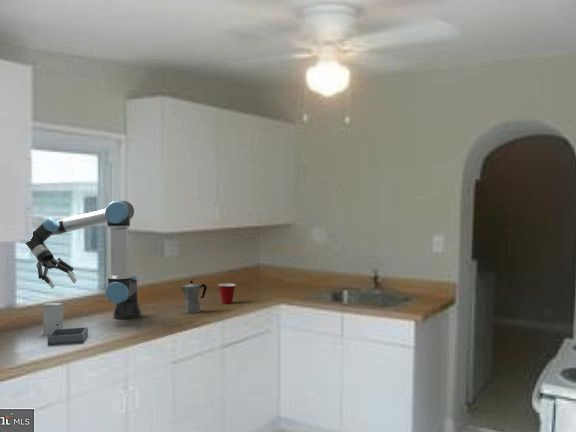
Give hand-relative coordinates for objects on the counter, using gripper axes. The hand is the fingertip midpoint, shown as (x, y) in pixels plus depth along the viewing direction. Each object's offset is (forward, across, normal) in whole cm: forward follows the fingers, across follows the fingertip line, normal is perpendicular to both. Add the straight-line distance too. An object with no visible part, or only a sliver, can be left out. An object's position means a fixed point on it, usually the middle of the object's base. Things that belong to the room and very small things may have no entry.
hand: (64, 284), depth 299 cm
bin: (+33, +20, +3) cm, 38 cm away
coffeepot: (+44, -58, +7) cm, 73 cm away
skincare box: (+19, +13, -12) cm, 26 cm away
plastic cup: (+47, -86, +8) cm, 99 cm away
